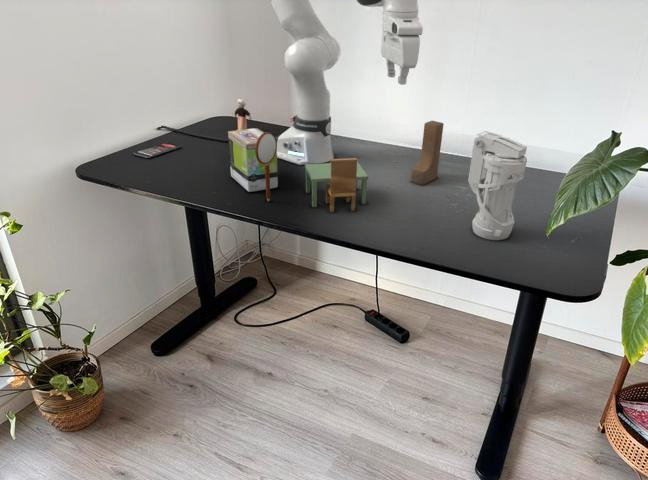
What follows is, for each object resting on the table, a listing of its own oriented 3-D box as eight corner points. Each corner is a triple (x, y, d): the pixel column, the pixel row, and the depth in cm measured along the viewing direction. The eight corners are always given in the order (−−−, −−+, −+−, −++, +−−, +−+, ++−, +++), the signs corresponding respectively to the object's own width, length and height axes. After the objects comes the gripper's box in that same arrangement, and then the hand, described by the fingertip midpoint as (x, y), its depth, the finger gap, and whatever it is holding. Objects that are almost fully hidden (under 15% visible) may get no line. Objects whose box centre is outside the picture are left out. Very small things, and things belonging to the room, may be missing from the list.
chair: (325, 202, 156) (326, 152, 148) (349, 200, 157) (351, 150, 150) (330, 212, 150) (331, 160, 142) (354, 210, 152) (357, 159, 144)
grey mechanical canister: (517, 231, 144) (537, 139, 131) (500, 244, 137) (520, 148, 124) (473, 217, 151) (488, 128, 138) (455, 229, 144) (469, 136, 131)
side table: (305, 191, 162) (304, 164, 158) (356, 188, 166) (357, 161, 161) (312, 207, 152) (312, 179, 148) (366, 204, 156) (368, 176, 151)
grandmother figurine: (232, 132, 210) (229, 99, 204) (235, 129, 214) (233, 97, 207) (251, 134, 209) (249, 100, 203) (254, 131, 213) (252, 98, 206)
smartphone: (180, 145, 192) (147, 156, 181) (181, 147, 192) (147, 158, 181) (166, 141, 195) (132, 152, 184) (166, 143, 196) (132, 154, 184)
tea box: (279, 187, 164) (277, 139, 156) (248, 193, 159) (245, 144, 152) (259, 171, 175) (257, 126, 167) (230, 176, 170) (226, 130, 163)
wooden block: (422, 185, 170) (428, 128, 160) (410, 181, 172) (416, 125, 163) (437, 178, 176) (444, 122, 166) (425, 174, 178) (431, 120, 169)
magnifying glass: (275, 195, 159) (273, 128, 148) (280, 197, 158) (277, 129, 148) (256, 205, 152) (252, 135, 142) (261, 207, 151) (257, 136, 141)
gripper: (376, 19, 144) (374, 73, 152) (400, 28, 127) (396, 88, 134) (399, 19, 146) (395, 72, 153) (425, 28, 129) (420, 88, 136)
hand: (396, 80), depth 143 cm, fingers open, 8 cm apart
